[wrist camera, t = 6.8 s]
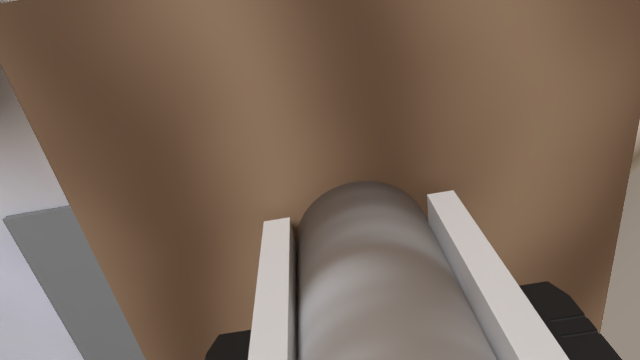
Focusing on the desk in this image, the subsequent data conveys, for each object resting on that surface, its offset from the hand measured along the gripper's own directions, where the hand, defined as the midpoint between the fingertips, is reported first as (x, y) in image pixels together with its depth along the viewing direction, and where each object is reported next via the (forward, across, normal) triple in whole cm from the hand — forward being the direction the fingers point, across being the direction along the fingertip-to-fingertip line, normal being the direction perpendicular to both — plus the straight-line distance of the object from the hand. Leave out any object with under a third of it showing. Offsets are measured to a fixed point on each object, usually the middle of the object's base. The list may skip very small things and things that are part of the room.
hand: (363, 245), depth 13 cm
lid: (+2, 0, 0) cm, 2 cm away
